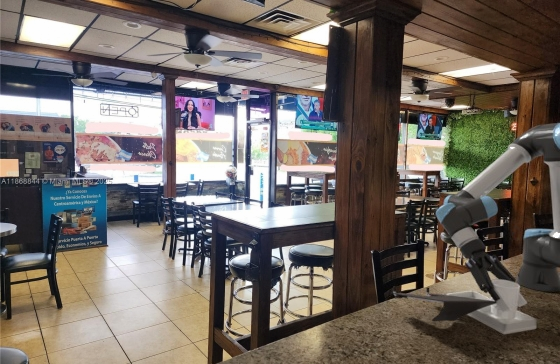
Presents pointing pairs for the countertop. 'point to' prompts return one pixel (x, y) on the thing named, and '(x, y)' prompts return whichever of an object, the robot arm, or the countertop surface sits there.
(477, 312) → the white divided tray
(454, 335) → the countertop surface
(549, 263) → the robot arm
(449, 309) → the portable electronic device stand
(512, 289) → the white cup
